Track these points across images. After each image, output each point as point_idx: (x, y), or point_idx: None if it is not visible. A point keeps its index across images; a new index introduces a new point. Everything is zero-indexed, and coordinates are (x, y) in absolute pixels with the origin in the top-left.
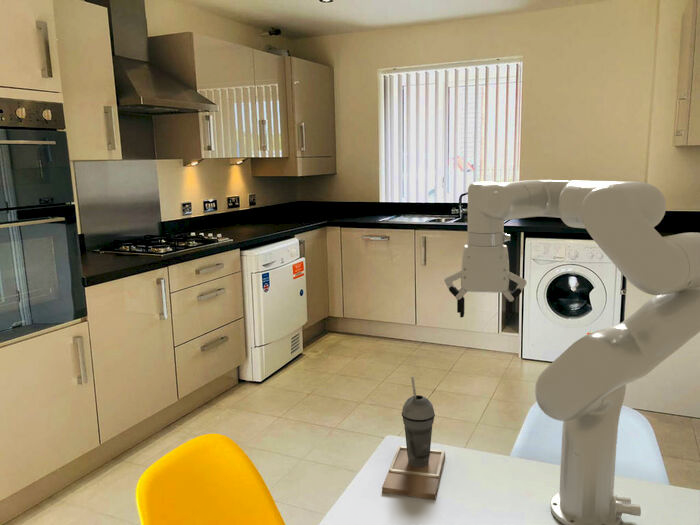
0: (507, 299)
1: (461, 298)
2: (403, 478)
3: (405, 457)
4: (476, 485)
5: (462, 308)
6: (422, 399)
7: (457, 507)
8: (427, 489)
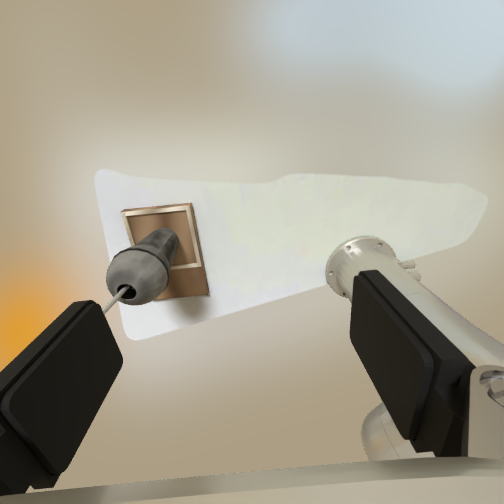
0: (437, 448)
1: (21, 479)
2: None
3: (144, 234)
4: (245, 253)
5: (92, 415)
6: (138, 295)
7: (233, 295)
8: (197, 289)
